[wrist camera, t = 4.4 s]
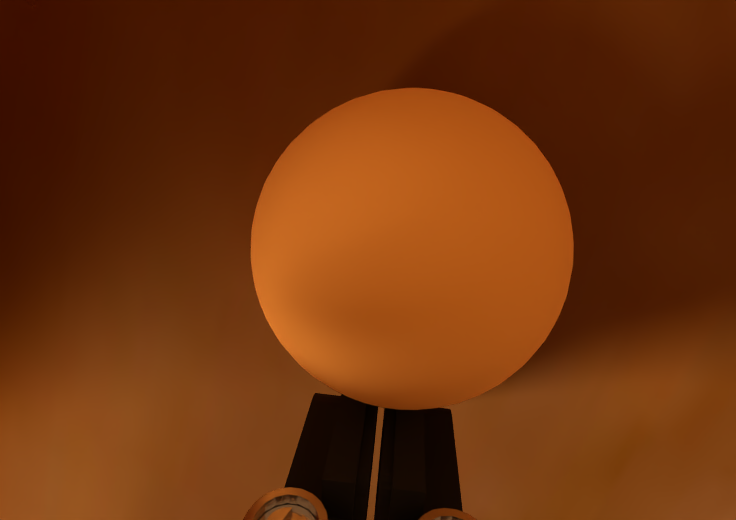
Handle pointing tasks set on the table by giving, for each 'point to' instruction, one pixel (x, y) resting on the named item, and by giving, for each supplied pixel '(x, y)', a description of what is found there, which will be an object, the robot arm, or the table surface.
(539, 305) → the ball
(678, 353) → the table surface
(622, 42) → the table surface
